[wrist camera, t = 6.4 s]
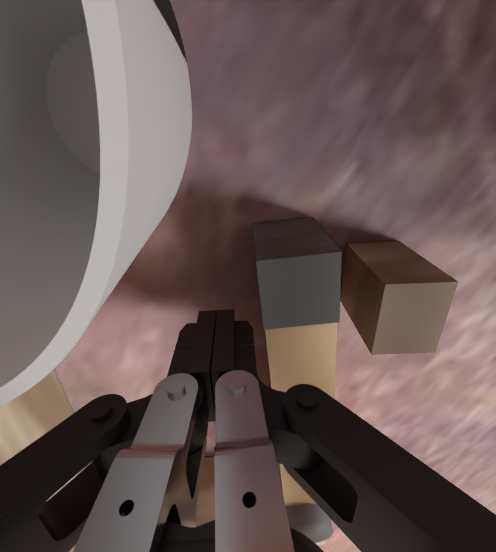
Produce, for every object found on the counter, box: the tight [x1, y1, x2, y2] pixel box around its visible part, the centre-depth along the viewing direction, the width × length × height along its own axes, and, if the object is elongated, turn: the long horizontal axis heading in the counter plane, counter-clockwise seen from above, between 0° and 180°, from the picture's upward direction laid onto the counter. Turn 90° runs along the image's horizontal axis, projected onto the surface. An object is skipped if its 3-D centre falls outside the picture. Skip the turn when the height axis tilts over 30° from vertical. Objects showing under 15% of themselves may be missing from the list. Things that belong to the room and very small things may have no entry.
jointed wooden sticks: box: [0, 241, 458, 552], centre depth 15 cm, size 21×18×4 cm
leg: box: [253, 217, 342, 543], centre depth 14 cm, size 3×16×5 cm, turn 7°
